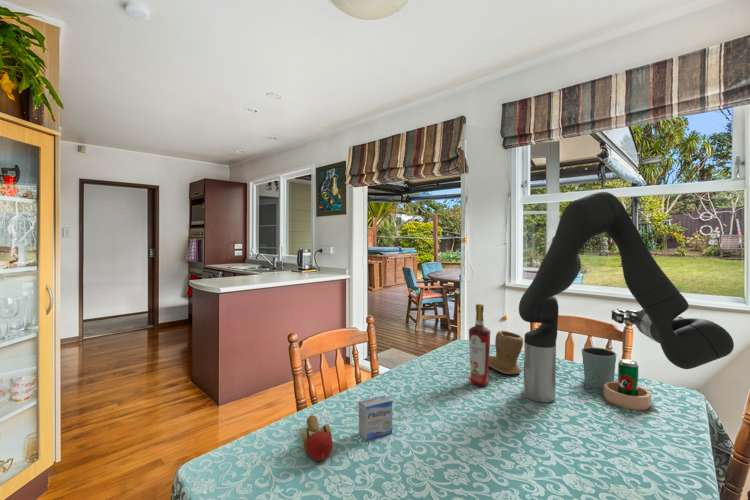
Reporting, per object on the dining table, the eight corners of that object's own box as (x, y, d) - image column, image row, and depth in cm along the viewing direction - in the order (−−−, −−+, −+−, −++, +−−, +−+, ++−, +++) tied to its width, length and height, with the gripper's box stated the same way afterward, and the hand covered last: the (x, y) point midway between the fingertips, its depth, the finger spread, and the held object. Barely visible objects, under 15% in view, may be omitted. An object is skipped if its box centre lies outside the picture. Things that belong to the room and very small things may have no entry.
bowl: (609, 406, 105) (610, 393, 105) (600, 390, 116) (600, 379, 116) (656, 412, 101) (657, 399, 101) (642, 396, 112) (642, 384, 112)
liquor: (464, 384, 122) (465, 304, 122) (474, 378, 128) (474, 302, 127) (485, 389, 118) (485, 307, 117) (493, 383, 123) (493, 304, 123)
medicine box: (365, 441, 87) (365, 407, 87) (358, 433, 91) (358, 400, 91) (393, 433, 91) (392, 400, 90) (384, 425, 95) (384, 394, 94)
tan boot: (530, 374, 131) (530, 335, 131) (503, 378, 128) (503, 337, 128) (504, 361, 146) (504, 326, 146) (479, 364, 142) (479, 328, 142)
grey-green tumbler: (621, 387, 120) (621, 352, 120) (608, 394, 114) (608, 357, 114) (589, 377, 128) (590, 345, 128) (575, 383, 123) (576, 350, 122)
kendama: (294, 434, 93) (301, 465, 76) (298, 409, 94) (306, 434, 77) (323, 435, 95) (335, 465, 78) (326, 410, 96) (340, 435, 79)
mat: (606, 406, 105) (606, 405, 105) (597, 392, 116) (597, 391, 116) (659, 414, 101) (659, 412, 101) (645, 398, 111) (645, 397, 111)
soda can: (641, 404, 105) (642, 364, 105) (622, 402, 106) (623, 363, 106) (632, 396, 110) (633, 359, 110) (614, 395, 111) (615, 358, 111)
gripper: (698, 312, 80) (667, 301, 95) (624, 308, 85) (606, 298, 100) (697, 344, 80) (667, 328, 95) (624, 338, 85) (606, 324, 100)
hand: (636, 312), depth 98 cm, fingers open, 8 cm apart
